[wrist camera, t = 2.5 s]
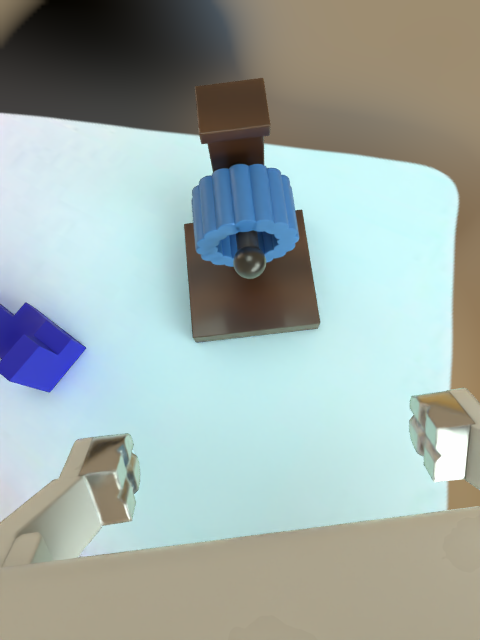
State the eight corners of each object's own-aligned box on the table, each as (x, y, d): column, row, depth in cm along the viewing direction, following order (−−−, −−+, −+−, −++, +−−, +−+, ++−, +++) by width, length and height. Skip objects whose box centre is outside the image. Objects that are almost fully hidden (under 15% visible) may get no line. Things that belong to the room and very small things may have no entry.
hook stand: (318, 329, 37) (357, 234, 21) (195, 344, 37) (141, 260, 21) (300, 218, 40) (323, 59, 24) (187, 232, 40) (133, 84, 24)
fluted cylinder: (296, 260, 29) (303, 213, 23) (202, 272, 29) (187, 227, 24) (289, 213, 30) (294, 156, 24) (198, 224, 30) (182, 170, 25)
